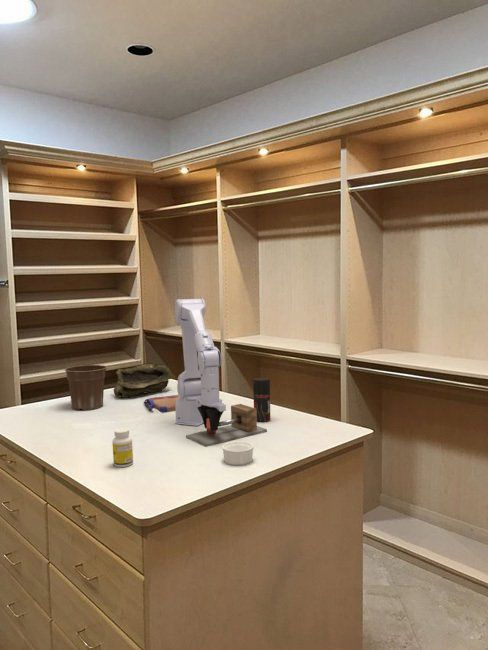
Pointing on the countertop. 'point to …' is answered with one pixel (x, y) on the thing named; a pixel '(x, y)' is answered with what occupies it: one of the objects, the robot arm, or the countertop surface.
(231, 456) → the ramekin
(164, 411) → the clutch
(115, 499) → the countertop surface
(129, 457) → the supplement bottle
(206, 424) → the copper head mallet
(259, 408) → the deodorant
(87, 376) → the plant pot
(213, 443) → the eye block
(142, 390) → the hollow geode rock
